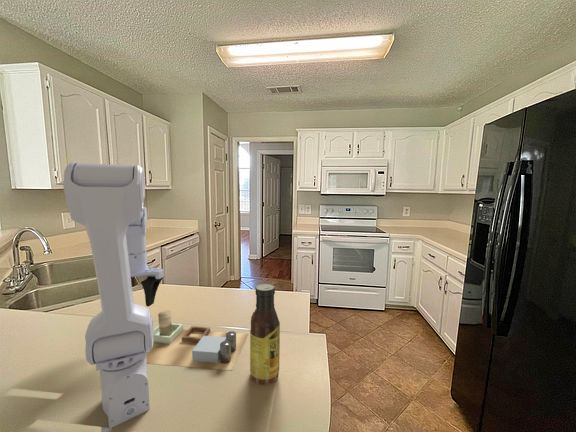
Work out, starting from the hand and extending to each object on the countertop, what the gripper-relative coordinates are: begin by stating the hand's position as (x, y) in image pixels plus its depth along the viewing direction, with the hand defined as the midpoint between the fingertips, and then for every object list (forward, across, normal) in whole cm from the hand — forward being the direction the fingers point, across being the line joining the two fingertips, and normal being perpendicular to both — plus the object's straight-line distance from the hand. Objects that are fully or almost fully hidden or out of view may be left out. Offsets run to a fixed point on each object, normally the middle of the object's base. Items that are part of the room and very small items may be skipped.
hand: (136, 303), depth 65 cm
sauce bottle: (+11, -35, +8) cm, 38 cm away
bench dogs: (+10, -26, +3) cm, 27 cm away
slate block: (+10, -21, +4) cm, 23 cm away
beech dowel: (+9, -6, -2) cm, 11 cm away
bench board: (+10, -16, +1) cm, 19 cm away
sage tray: (+10, -6, -2) cm, 12 cm away
